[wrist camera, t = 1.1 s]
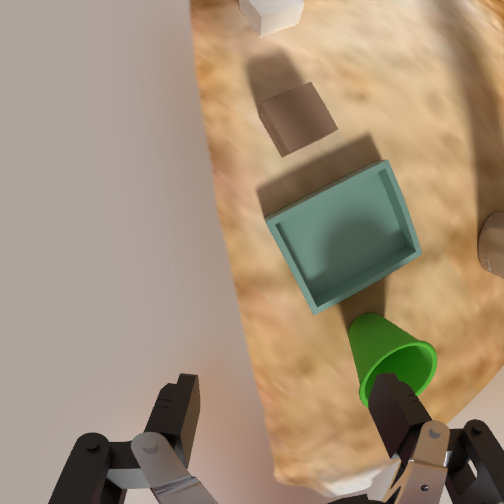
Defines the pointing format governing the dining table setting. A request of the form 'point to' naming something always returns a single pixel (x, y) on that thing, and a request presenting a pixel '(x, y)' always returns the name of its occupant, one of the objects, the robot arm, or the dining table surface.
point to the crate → (346, 235)
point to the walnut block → (296, 119)
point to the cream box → (271, 14)
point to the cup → (389, 354)
